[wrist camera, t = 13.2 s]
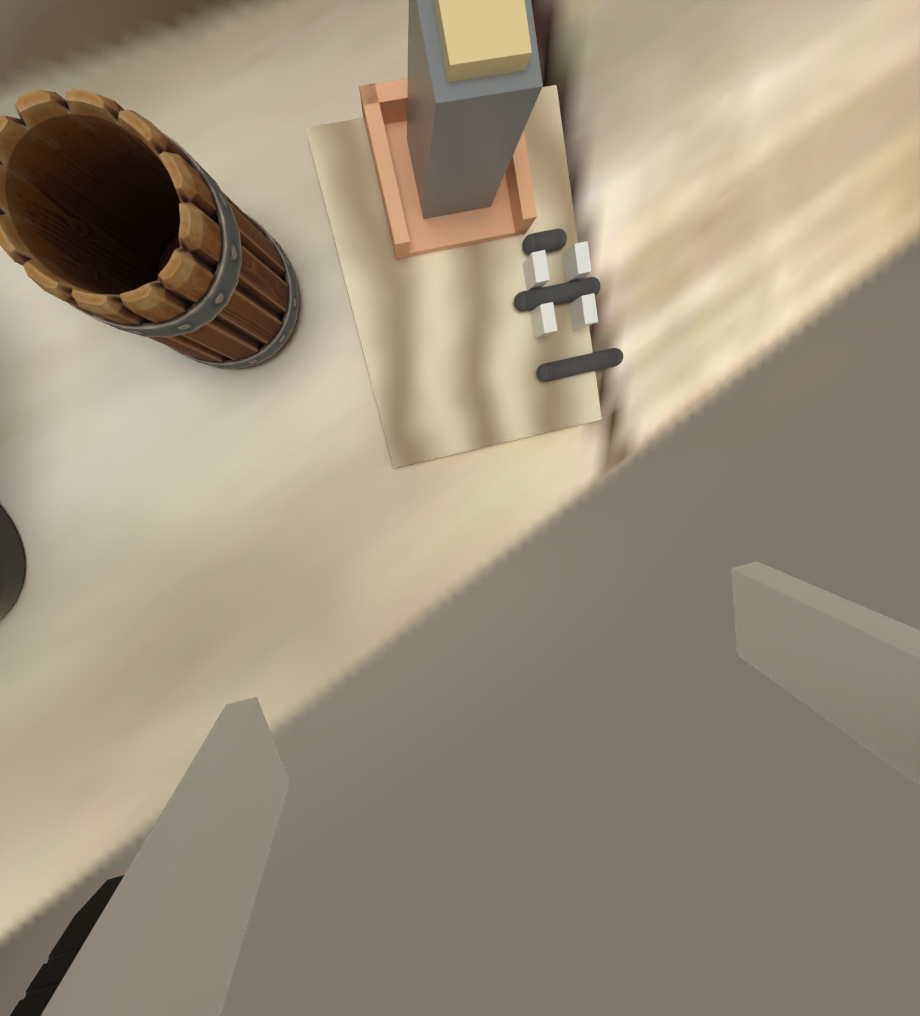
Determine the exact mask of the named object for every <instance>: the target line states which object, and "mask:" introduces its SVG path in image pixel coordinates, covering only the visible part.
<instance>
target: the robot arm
mask: <svg viewBox="0 0 920 1016" xmlns="http://www.w3.org/2000/svg"><path fill="white" fill-rule="evenodd" d="M23 578H24V555H23V550H22V546H21V542H20V540H19V537H18V534H17V532H16V530H15V528H14V526H13V524H12V522H11V521H10V519H9V518H8V516H7V515H6V513H5V512H4V511H3V509H2V508H1V507H0V619H1V618H2V617H3V616H4V615H5V614H6V613H7V612H8V611H9V610H10V608H11V607H12V606H13V604H14V603H15V601H16V599H17V597H18V595H19V592H20V590H21V587H22V583H23ZM732 582H733V598H734V613H735V627H736V643H737V654H738V655H739V656H740V657H742V658H743V659H744V660H746V661H747V662H749V663H750V664H752V665H753V666H754V667H756V668H757V669H758V670H760V671H761V672H762V673H764V674H765V675H766V676H768V677H769V678H771V679H772V680H773V681H775V682H776V683H777V684H779V685H780V686H782V687H783V688H784V689H786V690H787V691H789V692H790V693H791V694H793V695H794V696H795V697H797V698H798V699H800V700H801V701H802V702H804V703H805V704H807V705H808V706H809V707H811V708H812V709H813V710H815V711H816V712H818V713H819V714H820V715H822V716H823V717H824V718H826V719H827V720H829V721H830V722H831V723H833V724H834V725H836V726H837V727H839V728H840V729H841V730H842V731H844V732H845V733H847V734H848V735H849V736H851V737H852V738H854V739H855V740H856V741H858V742H859V743H860V744H862V745H863V746H865V747H866V748H867V749H869V750H870V751H871V752H873V753H874V754H876V755H877V756H878V757H880V758H881V759H883V760H884V761H885V762H887V763H888V764H889V765H891V766H892V767H894V768H895V769H896V770H898V771H899V772H900V773H902V774H903V775H905V776H906V777H907V778H909V779H910V780H911V781H913V782H914V783H916V784H917V785H918V786H920V631H919V630H917V629H914V628H912V627H910V626H907V625H905V624H903V623H900V622H898V621H896V620H893V619H891V618H888V617H886V616H884V615H881V614H879V613H876V612H874V611H872V610H870V609H867V608H865V607H863V606H860V605H858V604H855V603H853V602H851V601H848V600H846V599H843V598H841V597H839V596H836V595H834V594H832V593H829V592H827V591H825V590H822V589H820V588H818V587H815V586H813V585H811V584H808V583H806V582H803V581H801V580H799V579H796V578H794V577H791V576H789V575H787V574H784V573H782V572H780V571H777V570H775V569H773V568H770V567H768V566H766V565H763V564H761V563H759V562H754V563H750V564H747V565H743V566H739V567H736V568H732ZM289 784H290V782H289V779H288V777H287V774H286V771H285V769H284V766H283V764H282V761H281V759H280V756H279V753H278V751H277V748H276V745H275V743H274V740H273V738H272V735H271V733H270V730H269V727H268V725H267V722H266V720H265V717H264V714H263V712H262V709H261V707H260V704H259V702H258V699H257V697H254V698H250V699H246V700H242V701H239V702H235V703H231V704H228V705H226V706H225V708H224V709H223V711H222V713H221V714H220V716H219V718H218V719H217V721H216V723H215V724H214V726H213V728H212V729H211V731H210V733H209V735H208V736H207V738H206V740H205V741H204V743H203V745H202V746H201V748H200V750H199V751H198V753H197V755H196V756H195V758H194V760H193V761H192V763H191V765H190V766H189V768H188V770H187V771H186V773H185V775H184V776H183V778H182V780H181V781H180V783H179V785H178V786H177V788H176V790H175V792H174V793H173V795H172V797H171V798H170V800H169V802H168V803H167V805H166V807H165V808H164V810H163V812H162V813H161V815H160V817H159V818H158V820H157V822H156V823H155V825H154V827H153V828H152V830H151V832H150V833H149V835H148V837H147V838H146V840H145V842H144V844H143V845H142V847H141V849H140V850H139V852H138V854H137V855H136V857H135V859H134V860H133V862H132V864H131V865H130V867H129V869H128V870H127V872H126V874H125V875H123V876H119V877H116V878H113V879H109V880H107V881H106V882H105V883H104V884H103V885H102V887H101V888H100V889H99V890H98V891H97V892H96V893H95V894H94V895H93V896H92V897H91V899H90V900H89V901H88V902H87V903H86V904H85V905H84V906H83V907H82V908H81V910H80V911H79V912H78V913H77V914H76V915H75V916H74V918H73V919H72V921H71V922H70V924H69V925H68V927H67V929H66V930H65V932H64V933H63V935H62V936H61V938H60V939H59V941H58V942H57V944H56V945H55V947H54V949H53V950H52V952H51V953H50V955H49V960H48V963H46V964H43V966H42V967H41V969H40V970H39V972H38V973H37V975H36V976H35V978H34V980H33V981H32V982H31V984H30V986H29V987H28V989H27V990H26V996H25V998H24V999H23V1000H20V1001H19V1003H18V1004H17V1006H16V1007H15V1009H14V1010H13V1012H12V1014H11V1015H10V1016H220V1015H221V1011H222V1008H223V1005H224V1001H225V998H226V995H227V991H228V988H229V984H230V981H231V978H232V974H233V971H234V968H235V964H236V961H237V958H238V955H239V951H240V948H241V945H242V941H243V938H244V934H245V931H246V928H247V925H248V921H249V918H250V915H251V911H252V908H253V905H254V901H255V898H256V895H257V891H258V888H259V885H260V881H261V878H262V874H263V871H264V868H265V864H266V861H267V858H268V855H269V851H270V848H271V844H272V841H273V838H274V834H275V831H276V828H277V824H278V821H279V818H280V814H281V811H282V808H283V804H284V801H285V798H286V794H287V791H288V788H289Z"/></svg>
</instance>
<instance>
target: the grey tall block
mask: <svg viewBox="0 0 920 1016" xmlns="http://www.w3.org/2000/svg"><path fill="white" fill-rule="evenodd" d="M542 87H543V85H542V78H541V70H540V63H539V56H538V48H537V41H536V33H535V26H534V19H533V11H532V4H531V0H409V29H408V91H407V142H408V147H409V152H410V157H411V162H412V167H413V172H414V177H415V182H416V186H417V191H418V196H419V201H420V206H421V211H422V216H423V219H428V218H433V217H438V216H444V215H449V214H455V213H460V212H466V211H471V210H477V209H482V208H488V207H491V205H492V203H493V200H494V198H495V196H496V193H497V191H498V189H499V186H500V184H501V182H502V179H503V177H504V175H505V172H506V170H507V168H508V165H509V163H510V161H511V159H512V156H513V154H514V152H515V149H516V147H517V145H518V142H519V140H520V138H521V135H522V133H523V131H524V128H525V126H526V124H527V121H528V119H529V117H530V114H531V112H532V110H533V108H534V105H535V103H536V101H537V98H538V96H539V94H540V91H541V89H542Z"/></svg>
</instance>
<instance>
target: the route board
mask: <svg viewBox="0 0 920 1016" xmlns="http://www.w3.org/2000/svg"><path fill="white" fill-rule="evenodd" d="M306 131H307V135H308V139H309V143H310V147H311V150H312V154H313V158H314V162H315V166H316V170H317V174H318V178H319V181H320V185H321V189H322V193H323V197H324V201H325V205H326V209H327V212H328V216H329V220H330V224H331V228H332V232H333V236H334V240H335V243H336V247H337V251H338V255H339V259H340V263H341V267H342V271H343V274H344V278H345V282H346V286H347V290H348V294H349V298H350V302H351V305H352V309H353V313H354V317H355V321H356V325H357V329H358V333H359V336H360V340H361V344H362V348H363V352H364V356H365V360H366V364H367V367H368V371H369V375H370V379H371V383H372V387H373V391H374V395H375V398H376V402H377V406H378V410H379V414H380V418H381V422H382V426H383V429H384V433H385V437H386V441H387V445H388V449H389V453H390V457H391V460H392V464H393V468H397V467H402V466H406V465H410V464H415V463H419V462H423V461H427V460H432V459H436V458H440V457H444V456H449V455H453V454H457V453H461V452H466V451H470V450H474V449H478V448H483V447H487V446H491V445H495V444H500V443H504V442H508V441H512V440H517V439H521V438H525V437H529V436H534V435H538V434H542V433H546V432H551V431H555V430H559V429H563V428H568V427H572V426H576V425H580V424H585V423H589V422H593V421H597V420H602V419H601V412H600V404H599V397H598V389H597V382H596V374H595V371H592V372H587V373H583V374H578V375H574V376H569V377H565V378H561V379H556V380H552V381H547V382H543V381H541V380H539V379H538V377H537V369H538V367H539V366H540V365H542V364H545V363H549V362H554V361H558V360H563V359H567V358H572V357H576V356H581V355H585V354H590V353H593V352H592V345H591V337H590V330H589V326H587V327H585V328H582V329H577V330H572V323H571V316H570V309H569V304H570V303H571V302H573V301H571V302H567V303H562V304H557V305H554V311H555V318H556V325H557V331H555V332H553V333H552V334H550V335H548V336H545V337H540V338H536V339H535V338H534V332H533V326H532V320H531V314H530V312H531V311H533V310H529V311H524V312H521V311H518V310H517V309H516V308H515V306H514V298H515V296H516V295H517V294H518V293H520V292H522V291H527V290H526V284H525V277H524V271H523V265H522V264H523V263H524V261H525V260H526V259H527V258H528V257H529V255H527V254H526V253H525V252H524V250H523V241H524V239H525V237H526V236H527V235H529V234H532V233H537V232H542V231H547V230H552V229H562V230H564V231H565V232H566V235H567V242H566V244H565V246H564V247H563V248H562V249H560V250H557V251H552V252H547V253H546V259H547V265H548V272H549V279H550V280H549V281H548V282H547V283H546V284H545V285H543V286H542V287H546V286H551V285H556V284H561V283H566V281H565V274H564V267H563V260H562V256H563V255H564V254H565V253H566V252H567V251H568V250H569V249H570V248H571V247H572V246H573V245H574V244H577V243H578V241H577V234H576V226H575V219H574V211H573V204H572V197H571V189H570V182H569V174H568V167H567V160H566V152H565V145H564V137H563V130H562V122H561V115H560V108H559V100H558V93H557V85H554V86H548V87H542V89H541V91H540V94H539V96H538V98H537V101H536V103H535V105H534V108H533V110H532V112H531V114H530V117H529V119H528V121H527V124H526V126H525V128H524V134H525V141H526V147H527V154H528V161H529V167H530V174H531V180H532V187H533V193H534V200H535V206H536V213H537V218H536V219H535V221H534V222H533V223H532V225H531V226H530V228H529V229H528V231H527V232H526V234H523V235H518V236H513V237H508V238H502V239H497V240H492V241H487V242H482V243H477V244H472V245H467V246H462V247H457V248H452V249H447V250H442V251H437V252H432V253H426V254H421V255H416V256H411V257H406V258H401V259H396V258H395V254H394V249H393V245H392V241H391V236H390V232H389V227H388V223H387V219H386V214H385V210H384V206H383V201H382V197H381V193H380V188H379V184H378V179H377V175H376V171H375V166H374V162H373V158H372V153H371V149H370V145H369V140H368V136H367V131H366V127H365V123H364V118H360V119H355V120H349V121H343V122H337V123H331V124H325V125H319V126H314V127H308V128H306ZM582 279H583V278H582ZM542 287H541V288H542Z"/></svg>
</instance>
